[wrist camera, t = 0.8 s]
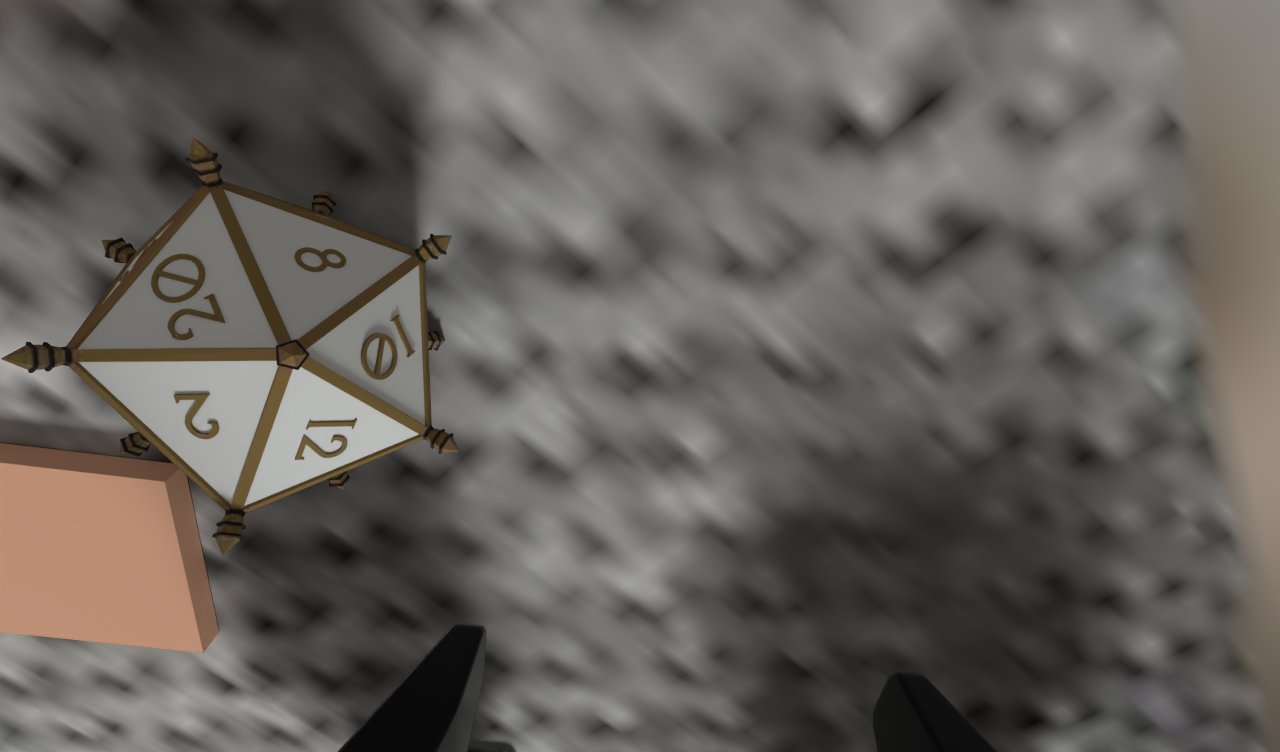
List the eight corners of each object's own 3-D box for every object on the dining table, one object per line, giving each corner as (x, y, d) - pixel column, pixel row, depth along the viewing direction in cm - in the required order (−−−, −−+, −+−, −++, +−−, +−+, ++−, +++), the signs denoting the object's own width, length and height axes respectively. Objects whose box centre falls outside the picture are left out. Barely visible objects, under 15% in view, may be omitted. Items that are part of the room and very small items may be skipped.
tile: (218, 631, 25) (202, 652, 24) (8, 610, 25) (-15, 630, 24) (184, 464, 22) (164, 481, 21) (-61, 436, 22) (-91, 452, 21)
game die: (336, 255, 23) (-89, 219, 14) (502, 142, 18) (17, -11, 10) (397, 503, 22) (-13, 622, 13) (586, 451, 17) (143, 581, 9)
